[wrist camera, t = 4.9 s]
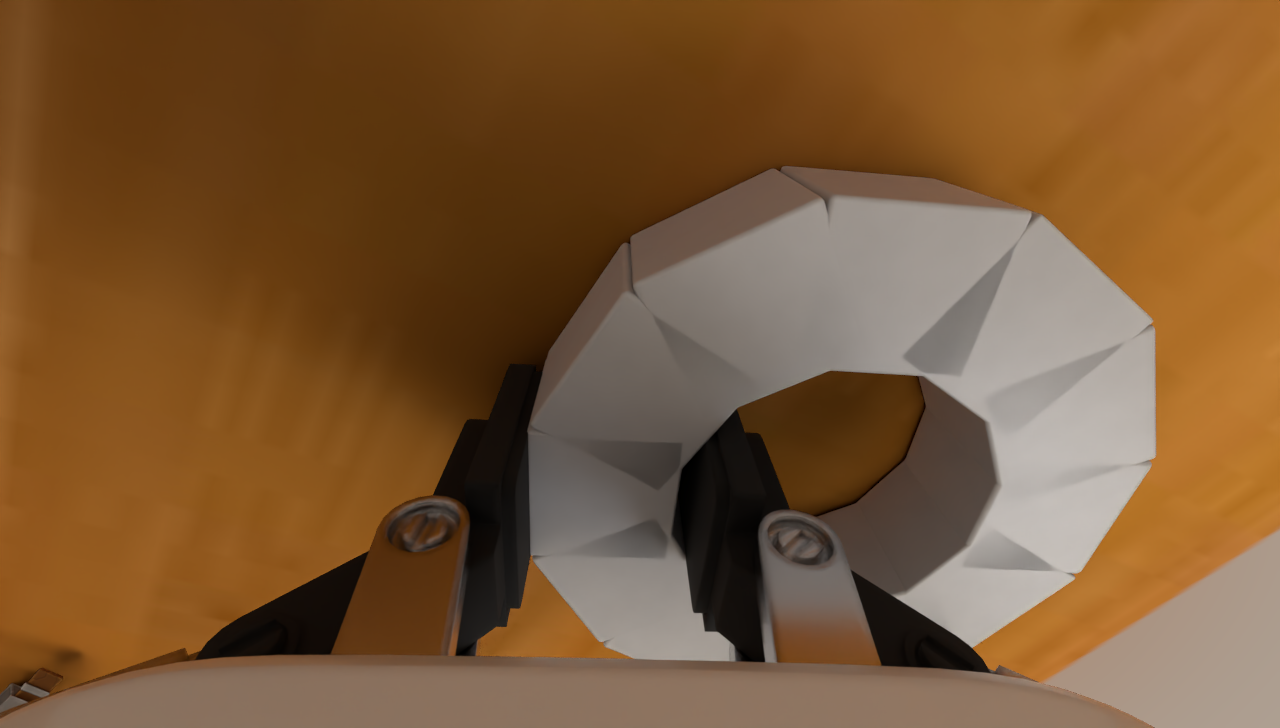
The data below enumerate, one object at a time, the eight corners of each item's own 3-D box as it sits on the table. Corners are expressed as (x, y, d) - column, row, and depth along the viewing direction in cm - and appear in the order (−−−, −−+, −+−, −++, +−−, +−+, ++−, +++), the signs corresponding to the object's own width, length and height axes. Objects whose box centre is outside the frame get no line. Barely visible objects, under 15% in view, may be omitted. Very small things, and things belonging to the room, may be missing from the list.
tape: (545, 145, 10) (518, 168, 7) (1148, 195, 10) (1312, 233, 8) (545, 586, 15) (531, 685, 13) (941, 598, 16) (1001, 695, 13)
